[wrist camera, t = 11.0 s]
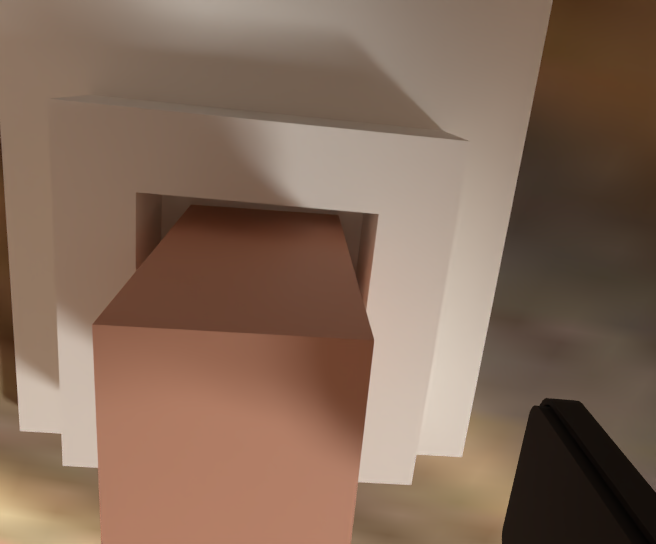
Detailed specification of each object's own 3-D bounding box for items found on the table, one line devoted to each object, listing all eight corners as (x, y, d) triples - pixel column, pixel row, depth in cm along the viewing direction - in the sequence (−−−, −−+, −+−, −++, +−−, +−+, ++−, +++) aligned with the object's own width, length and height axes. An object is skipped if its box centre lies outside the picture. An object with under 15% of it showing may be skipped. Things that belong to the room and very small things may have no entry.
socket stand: (580, -211, 16) (669, -301, 12) (454, 440, 22) (487, 517, 18) (-9, -299, 15) (-115, -428, 11) (32, 414, 21) (-27, 490, 17)
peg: (338, 214, 18) (374, 340, 10) (326, 347, 19) (348, 560, 11) (190, 204, 18) (92, 324, 9) (189, 339, 19) (101, 553, 11)
